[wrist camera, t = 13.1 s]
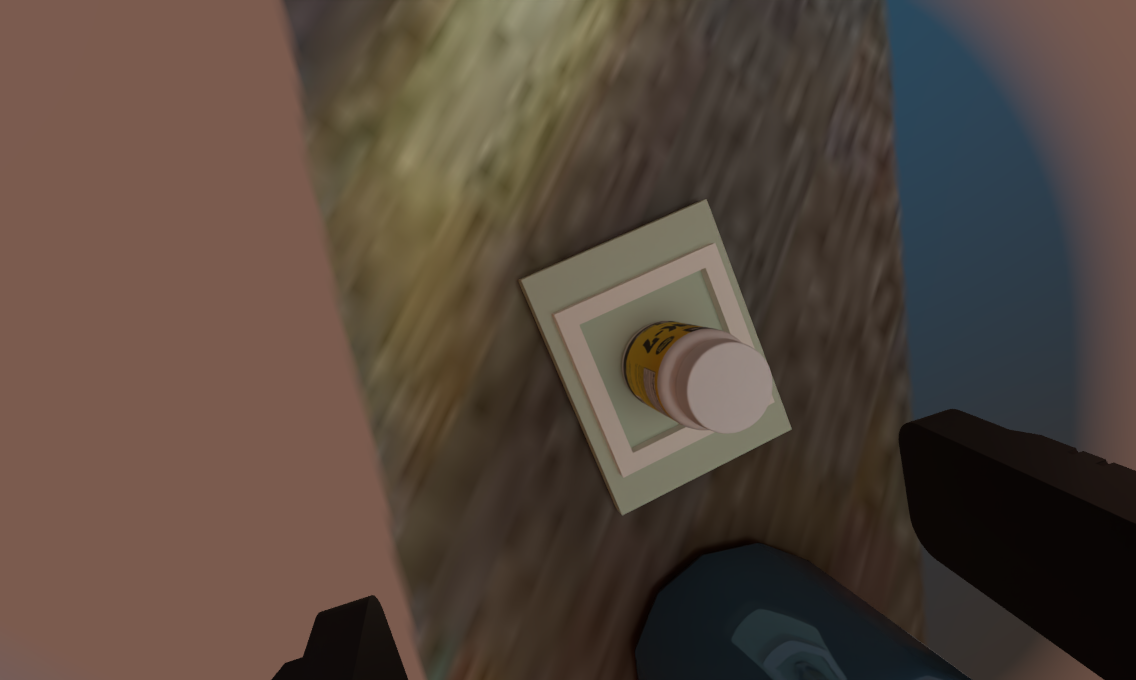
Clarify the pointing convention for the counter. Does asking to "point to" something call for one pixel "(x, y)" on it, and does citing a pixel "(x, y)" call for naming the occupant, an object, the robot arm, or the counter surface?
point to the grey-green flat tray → (613, 316)
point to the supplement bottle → (697, 376)
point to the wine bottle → (773, 626)
